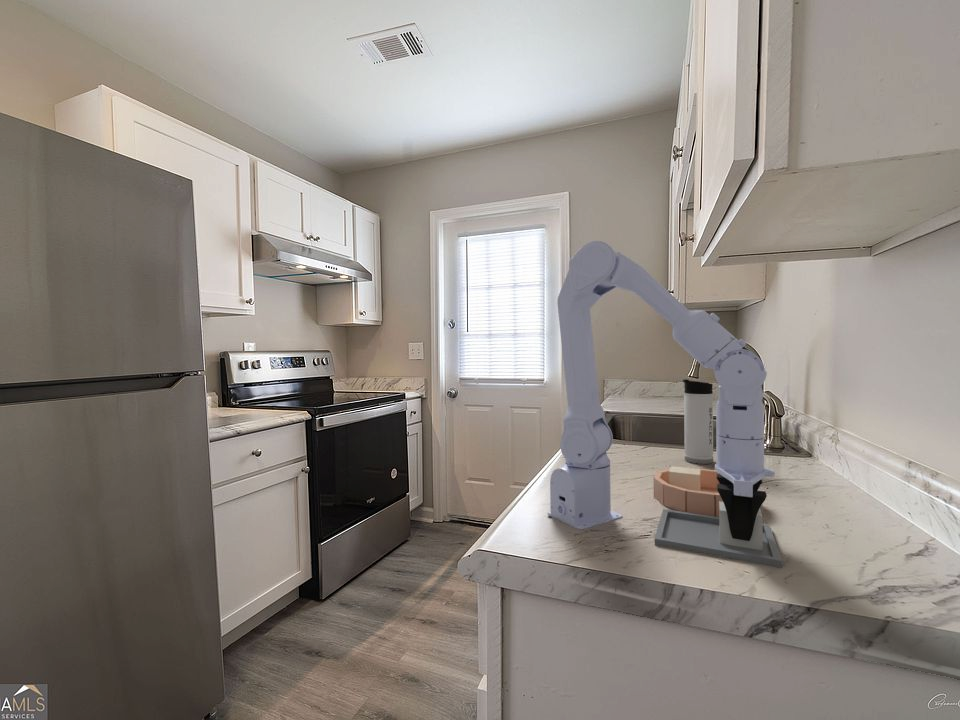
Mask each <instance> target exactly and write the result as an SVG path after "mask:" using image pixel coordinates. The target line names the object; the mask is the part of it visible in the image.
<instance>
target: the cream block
mask: <svg viewBox="0 0 960 720" xmlns="http://www.w3.org/2000/svg"><path fill="white" fill-rule="evenodd" d="M692 468H693V467H681V466H673V465H672V466H670V468H669V469H670V470H669V484H671V485H674V486H677V487H681V488H684V489H688V490H695V491H701V469H702V468H698V469H694V468H693V469H692Z"/></svg>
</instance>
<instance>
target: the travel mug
mask: <svg viewBox="0 0 960 720" xmlns="http://www.w3.org/2000/svg"><path fill="white" fill-rule="evenodd" d="M682 383H684V390H683V391H684V394H683V396H684V397H683V401H684V403H683V407H684V408H683V410H684V411H683V412H684V414H683V415H684V419H683V421H684V427H683V428H684V429H683V431H684V432H683V433H684V460H685V462H687V461H688V463H690V462H691V463H692V464H695V463H697V464H696V465H710V463H711V464H713V462H714V404H713V403H714V397H713V396H714V393H713V389H714V388H713V383H710V382H705V381H704V382H703V381H695V380H689V379H682ZM691 463H690V464H691Z"/></svg>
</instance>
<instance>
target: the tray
mask: <svg viewBox="0 0 960 720" xmlns="http://www.w3.org/2000/svg"><path fill="white" fill-rule="evenodd" d="M654 545H655V546H659V547H666V548H671V549H676V550H682V551H688V552H693V553H698V554H705V555H709V556H714V557H719V558H720V557H721V558H726V559H730V560H736V561H741V562H742V561H743V562H747V563H754V564H757V565H764V566H769V567H774V568H781V569H782V568H783V561H782V557H781V555H780V551H779V548H778V546H777V542H776V539H775V537H774V534H773V531H772V528H771V525H770V524H768V523H763V550H757V549H751V548H745V547H739V546H733V545H727V544H721V543H720V536H719V517H715V516H708V515H701V514H694V513H687V512H681V511H679V510H675V509H673V510H671V509H665V508H663V509H662V512H661V515H660V519H659V523H658V526H657V529H656V533H655V537H654Z"/></svg>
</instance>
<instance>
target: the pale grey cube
mask: <svg viewBox="0 0 960 720" xmlns="http://www.w3.org/2000/svg"><path fill="white" fill-rule="evenodd" d="M763 517H764V516H763V514H762V510H761V508H760V509H759V511H758V513H757V516H756V520H755V524H754V529H753V533H752V536H751V539H750V541H745V540H739V539H733V538H732V535H731V532H730V527H729V522H728V516H727V511H726V508H725V505H724V502H720V501H719V536H720V543H721V544H727V545H733V546H739V547H745V548H751V549H757V550H763V524H764V523H763V519H764V518H763Z"/></svg>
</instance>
